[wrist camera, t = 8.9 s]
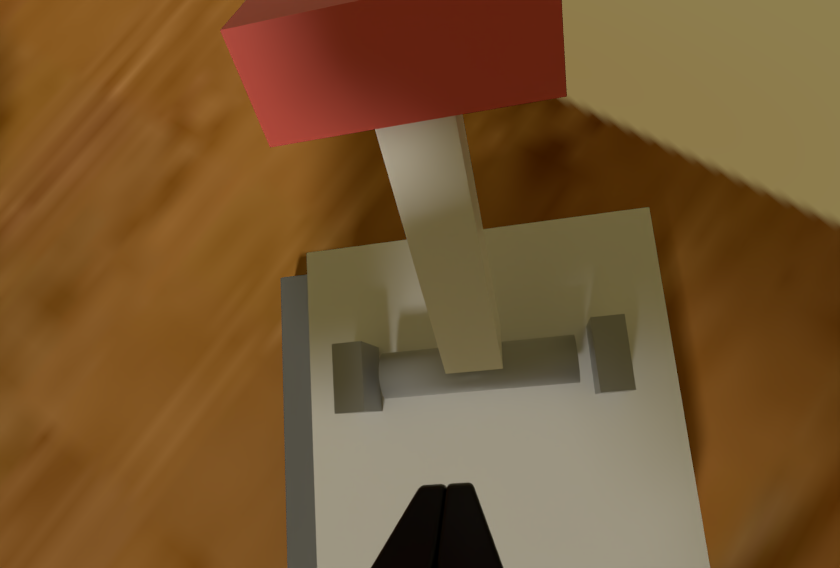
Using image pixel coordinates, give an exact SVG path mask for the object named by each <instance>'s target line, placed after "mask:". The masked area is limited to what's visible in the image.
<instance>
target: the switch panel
mask: <svg viewBox="0 0 840 568" xmlns="http://www.w3.org/2000/svg"><path fill="white" fill-rule="evenodd" d="M483 231H484V237H485V242H486V248H487V254H488V259H489V265H490V270H491V276H492V281H493V287H494V293H495V298H496V304H497V309H498V315H499V320H500V326H501V342H503V341H513V340H523V339H533V338H544V337H554V336H564V335H574V336H575V340H576V346H577V353H578V360H579V369H580V383H568V384H556V385H544V386H532V387H520V388H508V389H496V390H484V391H472V392H460V393H448V394H436V395H424V396H412V397H400V398H388V399H386V398H384V396H383V394H382V391H381V388H380V382H379V359H380V356H381V354H382V353H391V352H401V351H411V350H422V349H432V348H438V346H437V342H436V339H435V335H434V332H433V328H432V325H431V322H430V318H429V315H428V311H427V308H426V304H425V301H424V297H423V294H422V290H421V287H420V284H419V280H418V277H417V273H416V270H415V266H414V263H413V259H412V256H411V252H410V249H409V246H408V242H407V240H399V241H392V242H384V243H377V244H369V245H362V246H354V247H347V248H340V249H332V250H325V251H317V252H310V253H307V275H300V276H292V277H284V278H281V308H282V351H283V393H284V436H285V478H286V520H287V563H288V568H371V567H372V565H373V563H374V562H375V560H376V558H377V557H378V555H379V553H380V552H381V550H382V548H383V547H384V545H385V543H386V542H387V540H388V538H389V537H390V535H391V533H392V532H393V530H394V528H395V527H396V525H397V523H398V522H399V520H400V518H401V516H402V515H403V513H404V511H405V510H406V508H407V506H408V505H409V503H410V501H411V500H412V498H413V496H414V495H415V493H416V491H417V490H418V488H419V487H421V486H422V485H430V484H444V485H446V487H447V486H448V485H449V484H451V483H467V482H469V483H472V484H473V486H474V488H475V490H476V493H477V496H478V499H479V501H480V504H481V507H482V510H483V512H484V515H485V518H486V521H487V523H488V526H489V529H490V532H491V534H492V537H493V540H494V543H495V546H496V548H497V551H498V554H499V557H500V559H501V562H502V565H503V568H710V564H709V558H708V552H707V546H706V541H705V535H704V529H703V523H702V517H701V511H700V505H699V499H698V493H697V487H696V481H695V475H694V469H693V463H692V458H691V452H690V446H689V440H688V434H687V428H686V422H685V416H684V410H683V404H682V398H681V392H680V386H679V381H678V375H677V369H676V363H675V357H674V351H673V345H672V339H671V333H670V327H669V321H668V315H667V309H666V303H665V298H664V292H663V286H662V280H661V274H660V268H659V262H658V256H657V250H656V244H655V238H654V232H653V226H652V220H651V215H650V209H649V207H645V208H637V209H630V210H622V211H615V212H608V213H600V214H593V215H585V216H578V217H570V218H563V219H555V220H548V221H541V222H533V223H526V224H518V225H511V226H503V227H496V228H488V229H483Z"/></svg>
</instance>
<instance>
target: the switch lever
mask: <svg viewBox="0 0 840 568" xmlns="http://www.w3.org/2000/svg"><path fill="white" fill-rule="evenodd" d="M220 31H221V33H222V36H223V38H224V40H225V43H226V45H227V47H228V50H229V52H230V54H231V57H232V59H233V61H234V64H235V66H236V68H237V71H238V73H239V75H240V78H241V80H242V82H243V85H244V87H245V89H246V92H247V94H248V97H249V99H250V101H251V104H252V106H253V108H254V111H255V113H256V115H257V118H258V120H259V122H260V125H261V127H262V129H263V132H264V134H265V136H266V139H267V141H268V143H269V146H270V147H275V146H280V145H286V144H292V143H298V142H304V141H310V140H315V139H321V138H327V137H333V136H339V135H345V134H350V133H356V132H362V131H368V130H374V129H375V131H376V135H377V138H378V142H379V145H380V149H381V152H382V156H383V159H384V163H385V166H386V169H387V173H388V176H389V180H390V183H391V187H392V190H393V194H394V197H395V201H396V204H397V208H398V211H399V214H400V218H401V221H402V225H403V228H404V232H405V235H406V239H407V242H408V246H409V249H410V252H411V256H412V259H413V263H414V266H415V270H416V273H417V277H418V280H419V284H420V287H421V290H422V294H423V297H424V301H425V304H426V308H427V311H428V315H429V318H430V322H431V325H432V328H433V332H434V335H435V339H436V342H437V346H438V348H432V349H422V350H411V351H401V352H391V353H382V354H381V356H380V359H379V382H380V388H381V391H382V394H383V396H384V398H386V399H388V398H400V397H412V396H424V395H436V394H448V393H460V392H472V391H484V390H496V389H508V388H520V387H532V386H544V385H556V384H568V383H580V369H579V360H578V353H577V346H576V340H575V336H574V335H564V336H554V337H544V338H533V339H523V340H513V341H503V342H501V326H500V320H499V315H498V309H497V304H496V298H495V293H494V287H493V281H492V276H491V270H490V265H489V259H488V254H487V248H486V242H485V237H484V231H483V226H482V220H481V215H480V209H479V203H478V198H477V192H476V187H475V181H474V176H473V170H472V164H471V159H470V153H469V148H468V142H467V136H466V131H465V125H464V120H463V114H467V113H473V112H479V111H484V110H490V109H496V108H502V107H508V106H514V105H519V104H525V103H531V102H537V101H543V100H548V99H554V98H560V97H566V96H567V92H566V75H565V55H564V37H563V18H562V0H246V1H245V2H244V3H243V4H242V5H241V7H240V8H239V9H238V10H237V11H236V12H235V14H234V15H233V16H232V17H231V18H230V19H229V21H228V22H227V23H226V24H225V25H224V26H223V28H222V29H221V30H220Z"/></svg>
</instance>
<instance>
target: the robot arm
mask: <svg viewBox="0 0 840 568" xmlns="http://www.w3.org/2000/svg"><path fill="white" fill-rule="evenodd" d="M371 568H503V565H502V562H501V559H500V557H499V554H498V551H497V548H496V546H495V543H494V540H493V537H492V534H491V532H490V529H489V526H488V523H487V521H486V518H485V515H484V512H483V510H482V507H481V504H480V501H479V499H478V496H477V493H476V490H475V488H474V486H473V484H472V483H469V482H467V483H451V484H449V485H448V486H447V487H446V485H444V484H430V485H422V486H421V487H419V488H418V490H417V491H416V493H415V495H414V496H413V498H412V500H411V501H410V503H409V505H408V506H407V508H406V510H405V511H404V513H403V515H402V516H401V518H400V520H399V522H398V523H397V525H396V527H395V528H394V530H393V532H392V533H391V535H390V537H389V538H388V540H387V542H386V543H385V545H384V547H383V548H382V550H381V552H380V553H379V555H378V557H377V558H376V560H375V562H374V563H373V565H372V567H371Z"/></svg>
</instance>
